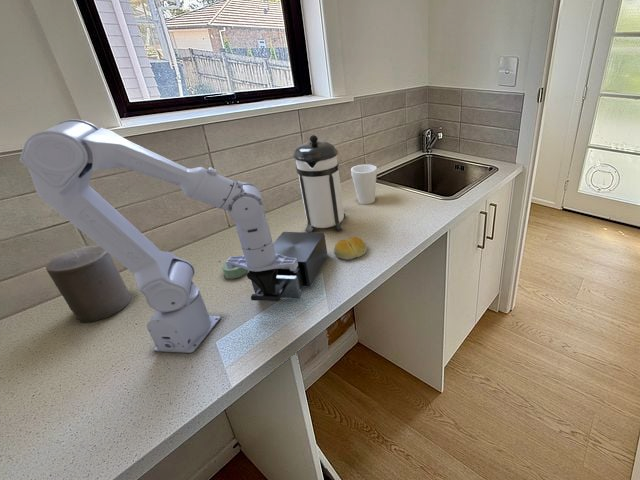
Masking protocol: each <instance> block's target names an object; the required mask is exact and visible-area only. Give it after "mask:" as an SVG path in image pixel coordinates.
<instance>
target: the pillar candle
mask: <svg viewBox="0 0 640 480" xmlns="http://www.w3.org/2000/svg"><path fill="white" fill-rule="evenodd" d="M45 270H46V271H47V273H48V275H49V277H50V279H51V280H52V282H53V284H54V285H55V286H56V288H57V290H58V291H59V293H60V294H61V296H62V298H63V299H64V301H65V302H66V304H67V305H68V308H70V311H72V313H73V315H74V317H75V318H76V320H77V322H80V323H90V322H95V321H96V322H97V321H100V320H103V319H106V318H109V317H111V316H113V315H115V314H116V313H118V312H120V311H121V310H123V309H124V308H125V307H127V305H128V304H129V303H131V300H132V295H131V294H130V292H129V290H128V287H127V285H126V284H125V282H124V279H123V277H122V276H121V274H120V272H119V270H118V268H117V266H116V263H114V260H113V257H112V256H111V255H110V254H109V253H108V252H106V251H105V250H104V249H103V248H102V247H100V246H99V245H91V246H90V245H89V246H88V245H87V246H83V247H79V248H76V249H75V248H74V249H72V250H69V251H67V252H64V253H62V254H60V255H57V256H55V257H54V258H52V259H51V260H49V261H48V262H47V264H46V265H45Z"/></svg>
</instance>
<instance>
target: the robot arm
mask: <svg viewBox="0 0 640 480" xmlns="http://www.w3.org/2000/svg"><path fill="white" fill-rule="evenodd" d="M19 162H20V163H21V164H23V166H25V167H26V168H27V169H28V171H29V175H30V177H31V180H32V183H33V186H34V188H35V191H36V194H37V195H38V197H39V198H40V199H41V200H42V201H43V202H45V203H46V204H47V205H49V206H50V207H51V208H52V209H53V210H55V211H56V212H57V213H58V214H60V216H62V217H63V218H64V219H66V220H67V221H68V222H69V223H71V224H72V225H73V226H75V228H77V229H78V230H79V231H81V232H82V233H83V234H84V235H85V236H87V237H88V238H89V239H91V240H92V241H93V242H94V243H96V244H97V246H100V247H102V248H103V249H104V250H105V251H106V252H108V253H109V254H110V256H111V257H112V258H114V259H115V260H116V261H117V262H119V263H120V264H121V265H122V266H124V267H125V268H126V269H127V270H128V271H130V272H131V273H132V274H133V276H134V280H135V284H136V288H137V290H138V291H139V292H140V293H141V294H142V295H143V296H144V297H145V300H146V303H147V305H148V307H150V308H151V309H153V310H154V313H153V315H152V317H151V318H150V320H149V322H148V323H147V325H146V328H147V331H148V333H149V335H150V337H151V340H152V341H153V343H154V345H155V347H154V348H153V351H154V352H163V353H187V354H192V353H194V352H195V351H196V350H197V348H198V347H199V346H200V345H201V343H202V342H203V341H204V340H205V338H206V337H207V336H208V335H209V334H210V332H211V331H212V330H213V329H214V327H216V325H217V324H218V323H219V321H220V320H221V318H222V317H221V315H209V312H208V309H207V307H206V305H205V302H204V299H203V296H202V294H201V291H200V289H199V287H198V286H197V284H195V283H194V282H193V277H194V275H195V272H196V271H195V267H194V265H193V263H192V262H190V261H188V260H186V259H183V258H180V257H178V256H177V255H175V254H174V253H173V252H172V251H163V250H161V249H160V248H159V247H157V246H156V245H155V244H154V243H153V242H152V241H151V240H150V239H149V238H148V237H146V236H145V235H144V234H143V233H142V232H141V231H140V230H139V229H138V228H137V227H136V226H134V225H133V223H131V222H130V221H129V220H128V219H127V218H125V216H124V215H122V214H121V213H120V212H119V211H118V210H117V209H116V208H115V207H113V206H112V204H110V203H109V201H108V200H106V199H105V198H104V197H103V196H102V195H101V194H100V193H98V192H97V191H96V190H95V189H94V188H92V186H91V185H90V182H91V178H92V174H93V171H95V172H96V171H102V170H108V169H115V168H125V169H129V170H131V171H135V172H137V173H140V174H143V175H146V176H149V177H152V178H154V179H157V180H160V181H163V182H166V183H170V184H172V185H176V186H178V187H179V188H180V189H181V192H182V193H183V194H184V196H185V197H187V198H191V199H193V200H196V201H199V202H201V203H204V204H206V205H209V206H212V207H215V208H217V209H220V210H223V211H227V212H228V214H229V216H230V218H232V219H233V220H234V221H235V229H236V231H237V236H238V240H239V242H240V247H241V250H242V253H243V254H242V255H235V256H231V255H230V257H229V258H227V260H226V261H225V263H226V264H227V267H228V269H233V268H234V267H240V268H243V269H247V271H248V273H247V274H246V277H247V279H248V280H249V281H250V282H252V281H253V282H254V283H255V284H256V285H257V286H258V287H259V288H260V289H261V291H262V292H263V293H264V294H274V292H275V284H276V277H277V273H278V270H279V269H290V271H295V270H296V268H297V267H298V262H297V258H290V257H286V256H282V255H279V254H276V253H275V250H274V246H273V243H274V241H273V237H272V234H271V230H270V225H269V222H268V219H267V215H266V211H265V205H264V201H263V195H262V192H261V190H260V189H259V188H258V187H257V186H255V185H254V184H252V183H251V182H243V181H241V180H237V181H235V180H233V179H230V178H228V177H225V176H223V175H221V174H219V173H217V172H218V171H217V169H215V168H213V167H211V166H209V167H208V168H204V166H198V167H197V166H196V167H193V168H188V167H186V166H183V165H182V164H179V163H178V162H176V161H173V160H171V159H169V158H167V157H164V156H163V155H160V154H158V153H156V152H154V151H153V150H150V149H148V148H146V147H143V146H141V145H139V144H136V143H135V142H133V141H131V140H128V139H126V138H125V137H123V136H121V135H120V134H119V133H118V134H117V133H116V132H114V131H113V130H111V129H107V128H104V127H100V128H99V127H98V126H97V125H95V124H93V123H92V122H89V121H86V120H82V119H66V120H63V121H60V122H59V123H57V124H56V125H54V126H52V127H49V128H48V129H45V130H41V131H38V132H35V133H33V134H31V135H30V136H28V138H26V140H25V142H24V144H23V147H22V151H21V153H20V157H19Z"/></svg>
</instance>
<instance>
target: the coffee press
mask: <svg viewBox="0 0 640 480" xmlns="http://www.w3.org/2000/svg"><path fill="white" fill-rule="evenodd" d="M338 154H339V151H338V150H337V148H336V147H335V145H334V144H332V143H330V142H328V141H321V140H320V141H319V138H318V137H317V135H314V134H313V135H310V137H309V141H308V142H304V143H301V144H299V145H298V146H296V148H295V149H294V153H293V159H294V160H295V164H296V165H295V168H296V174H297V176H298V180H299V182H298V183H299V187H300V192H301V197H302V198H301V199H302V203H303V209H304V214H305V218H306V219H305V221H306V223H307V225H306V227H305V232H309V233H313V230H314V229H315V228H316V229H327V228H331V227H333V228H334V229H335V231H336V232H340V231H342V230H343V227H342V226H341V222H343V220H344V218H345V217H346V213H345V211H344V205H343V195H342V188H341V187H342V186H341V178H340V171H339V169H340V164H339V161H338Z"/></svg>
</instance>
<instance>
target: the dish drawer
mask: <svg viewBox="0 0 640 480" xmlns="http://www.w3.org/2000/svg"><path fill="white" fill-rule="evenodd" d="M305 282H306V276H305V271H304V266H303V264H298V267H297V268H296V270H295V271H290V269H279V270H278V273H277V277H276V284H275V292H274V294H264V293H263V292H262V291H261V289H260V288H259V287H258V286H257V285H256V284H255V283H254V282H253V281H251V285H252V288H253V291H254V293H252V294H251V296H250V300H251V301H258V302H259V301H260V302H280V301H281V299H300V298H301V296H302V292H301V290H302V289H303V288H304V287H303V285H304V283H305Z"/></svg>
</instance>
